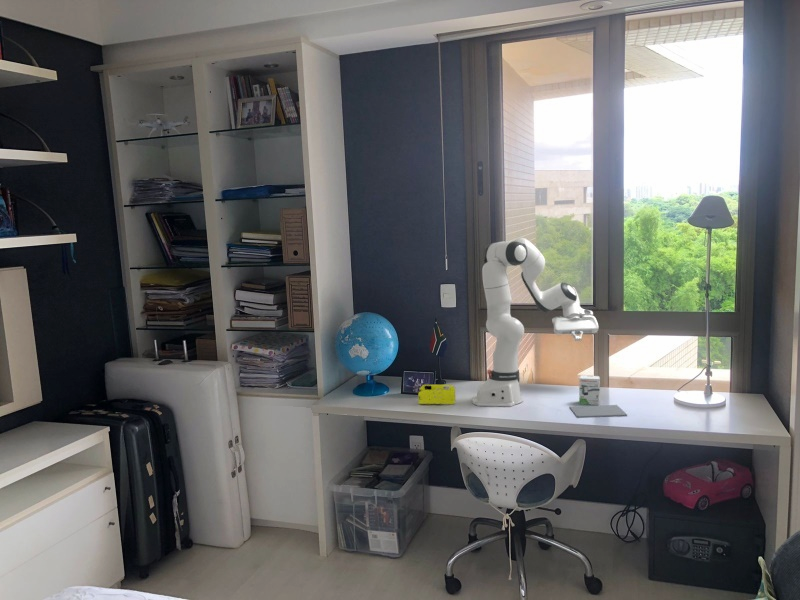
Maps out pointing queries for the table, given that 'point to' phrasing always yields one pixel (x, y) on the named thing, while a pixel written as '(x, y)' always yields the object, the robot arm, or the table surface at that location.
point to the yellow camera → (437, 394)
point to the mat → (597, 411)
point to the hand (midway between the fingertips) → (578, 340)
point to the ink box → (589, 390)
